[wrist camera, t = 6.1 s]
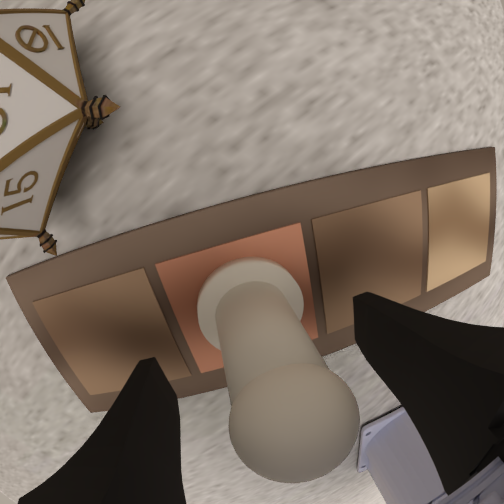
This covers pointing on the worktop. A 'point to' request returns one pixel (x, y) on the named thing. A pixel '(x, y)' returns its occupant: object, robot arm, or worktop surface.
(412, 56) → the worktop surface
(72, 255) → the board
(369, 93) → the worktop surface
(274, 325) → the pawn
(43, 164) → the game die
